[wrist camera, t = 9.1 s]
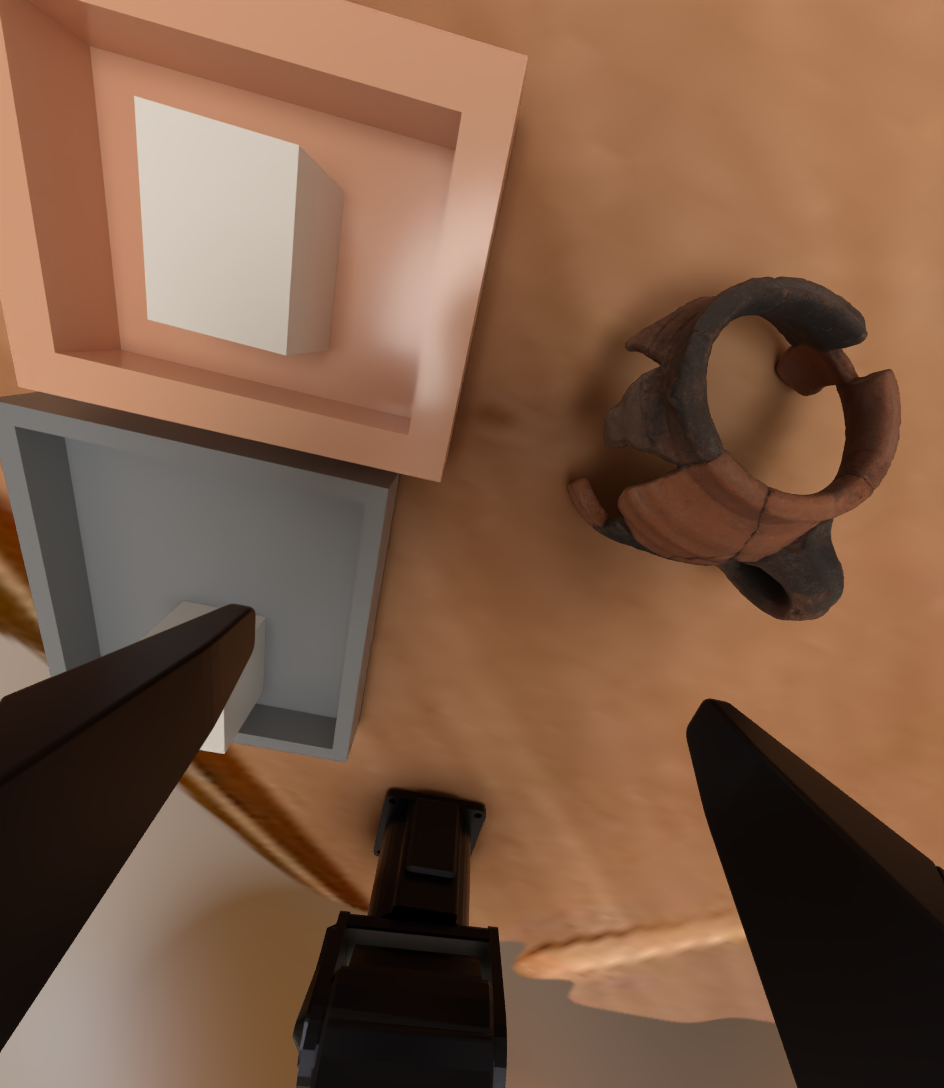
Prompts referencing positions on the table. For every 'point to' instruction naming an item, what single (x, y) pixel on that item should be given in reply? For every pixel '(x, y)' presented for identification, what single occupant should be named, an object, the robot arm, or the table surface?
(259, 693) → the off-white rectangular prism
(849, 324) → the brown curved piece
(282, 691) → the parts tray
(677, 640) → the table surface
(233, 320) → the cream rectangular block
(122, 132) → the terracotta dish
